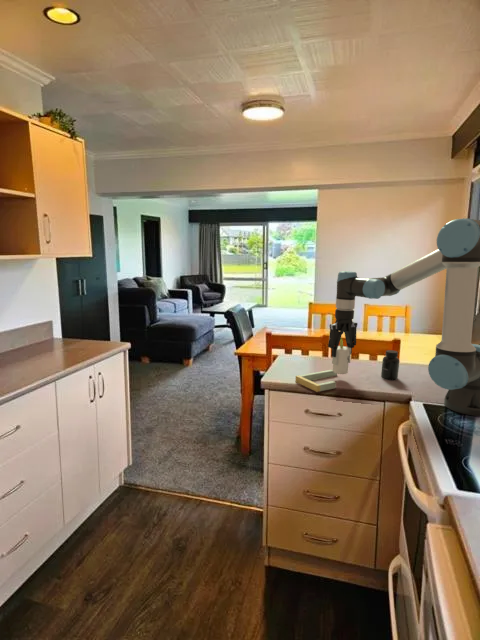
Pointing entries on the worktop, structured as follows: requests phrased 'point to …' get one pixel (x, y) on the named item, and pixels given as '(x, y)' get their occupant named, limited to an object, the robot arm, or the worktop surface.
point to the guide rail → (316, 387)
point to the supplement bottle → (390, 365)
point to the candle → (342, 359)
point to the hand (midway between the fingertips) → (341, 363)
